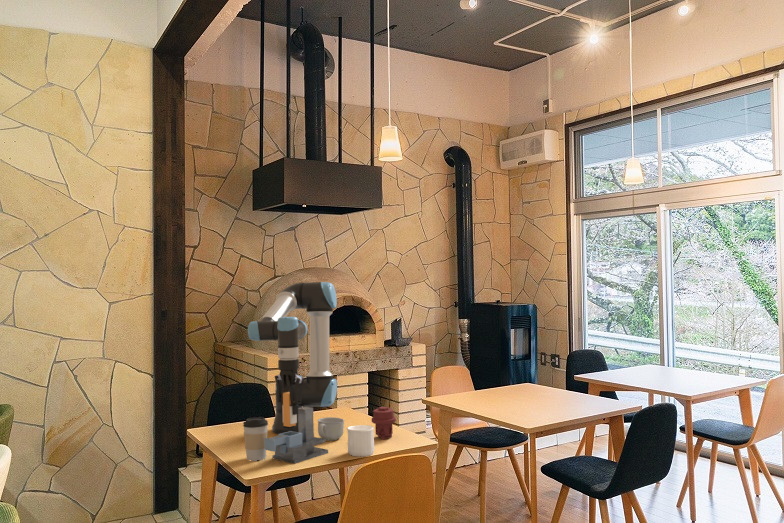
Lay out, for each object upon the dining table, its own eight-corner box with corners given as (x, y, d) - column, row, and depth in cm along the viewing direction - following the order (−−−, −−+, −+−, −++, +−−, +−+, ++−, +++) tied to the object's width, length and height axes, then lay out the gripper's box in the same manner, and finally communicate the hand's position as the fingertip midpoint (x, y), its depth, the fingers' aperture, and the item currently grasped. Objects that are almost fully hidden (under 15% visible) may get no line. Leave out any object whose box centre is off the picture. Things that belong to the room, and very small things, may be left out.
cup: (377, 455, 237) (376, 429, 237) (351, 458, 234) (350, 431, 234) (371, 449, 246) (370, 423, 246) (345, 451, 243) (345, 426, 243)
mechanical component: (398, 435, 267) (393, 441, 257) (375, 434, 269) (369, 440, 259) (397, 405, 267) (392, 410, 257) (374, 405, 269) (368, 409, 259)
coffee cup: (245, 455, 241) (244, 415, 241) (270, 454, 241) (269, 414, 242) (242, 462, 232) (241, 421, 232) (267, 461, 232) (266, 420, 233)
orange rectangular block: (290, 424, 237) (289, 391, 238) (295, 425, 235) (295, 392, 236) (283, 425, 235) (282, 393, 235) (289, 426, 233) (288, 393, 233)
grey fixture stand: (272, 458, 236) (271, 411, 236) (306, 448, 249) (305, 404, 250) (294, 463, 228) (293, 415, 229) (328, 452, 242) (327, 407, 242)
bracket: (263, 455, 229) (263, 438, 229) (291, 447, 239) (290, 430, 240) (275, 458, 225) (274, 440, 226) (302, 450, 235) (302, 433, 236)
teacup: (330, 434, 271) (329, 415, 271) (349, 437, 264) (349, 418, 264) (307, 441, 259) (307, 422, 259) (327, 445, 253) (327, 425, 253)
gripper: (266, 358, 238) (267, 422, 237) (295, 361, 228) (297, 427, 227) (281, 356, 244) (282, 418, 243) (311, 358, 234) (312, 423, 233)
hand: (289, 422), depth 235 cm, fingers closed on orange rectangular block, 3 cm apart
